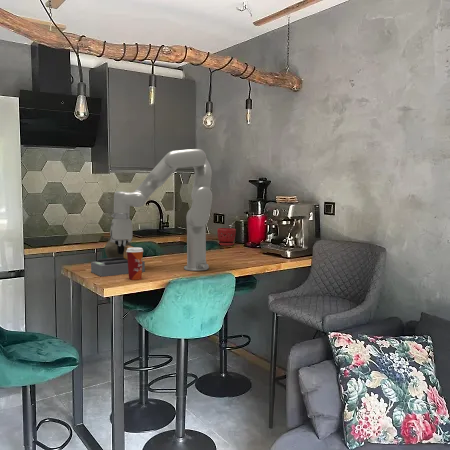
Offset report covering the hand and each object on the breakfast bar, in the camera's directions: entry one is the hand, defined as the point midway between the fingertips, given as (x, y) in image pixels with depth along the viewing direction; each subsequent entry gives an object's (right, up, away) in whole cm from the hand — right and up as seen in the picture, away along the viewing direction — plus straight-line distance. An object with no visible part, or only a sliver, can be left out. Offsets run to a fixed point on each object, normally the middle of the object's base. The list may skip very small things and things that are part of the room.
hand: (120, 253), depth 226 cm
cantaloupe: (-5, -7, +19) cm, 21 cm away
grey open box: (-1, -9, 0) cm, 9 cm away
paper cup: (+10, -11, -17) cm, 22 cm away
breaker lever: (+3, -4, +3) cm, 6 cm away
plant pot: (+52, 0, +103) cm, 115 cm away
